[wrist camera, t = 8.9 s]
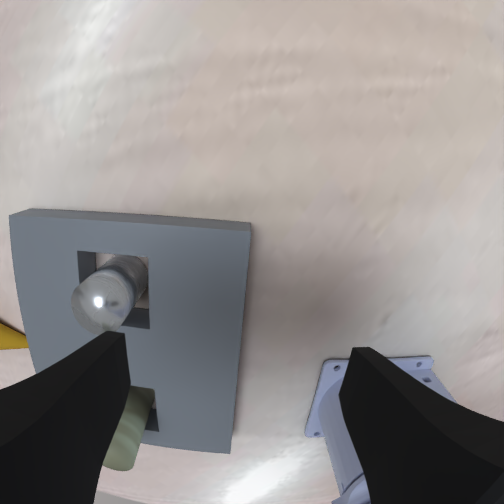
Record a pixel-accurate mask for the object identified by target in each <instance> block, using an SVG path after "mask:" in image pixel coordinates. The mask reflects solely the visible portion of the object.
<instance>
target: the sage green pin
mask: <svg viewBox="0 0 504 504" xmlns="http://www.w3.org/2000/svg"><path fill="white" fill-rule="evenodd" d="M154 398H155V392H154V389H151V388H144V387H138V386H132V385H130V389H129V393H128V397H127V401H126V405H125V409H124V411H123V414H122V416H121V419H120V421H119V424H118V426H117V429H116V431H115V434H114V436H113V439H112V441H111V444H110V446H109V449H108V451H107V454H106V456H105V459H104V462H103V466H105V467H107V468H110V469H113V470H117V471H128V470H130V469H132V468H133V466H134V462H135V459H136V456H137V452H138V449H139V446H140V442H141V439H142V436H143V433H144V429H145V426H146V423H147V420H148V417H149V413H150V410H151V407H152V404H153V401H154Z"/></svg>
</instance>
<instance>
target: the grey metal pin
mask: <svg viewBox="0 0 504 504" xmlns="http://www.w3.org/2000/svg"><path fill="white" fill-rule="evenodd" d="M147 285H148V272H147V269H146V267H145V265H144V264H143V262H142V261H141V260H140V259H138V258H137V257H136V256H130V255H119V254H117V255H115V256H113V257H112V258H111V259H109V260H108V261H107V262H106V263H105V264H103V265H102V266H101V267H100V268H99V269H97V270H96V271H95V272H94V273H93V274H91V275H90V276H89V277H88V278H87V279H86V280H84V281H83V282H82V283H81V284H80V285H79V286H77V287H76V288H75V290H74V291H73V293H72V297H71V308H72V312H73V314H74V316H75V318H76V320H77V321H78V323H79V324H80V325H81V326H82V327H83V328H84V329H86V330H87V331H89V332H91V333H93V334H96V335H100V334H102V333H104V332H106V331H114V332H116V331H117V330H118V329H119V327H120V326H121V324H122V323H123V321H124V320H125V318H126V317H127V315H128V314H129V313H130V311H131V310H132V308H133V307H134V305H135V304H136V302H137V301H138V299H139V298H140V296H141V295H142V293H143V292H144V291H145V289H146V287H147Z"/></svg>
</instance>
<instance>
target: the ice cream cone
mask: <svg viewBox="0 0 504 504" xmlns="http://www.w3.org/2000/svg"><path fill="white" fill-rule="evenodd" d="M21 348H29V346H28V342H27V338H26V336H25V335H23V334H21V333H19V332H17V331H15V330H13V329H11V328H9V327H7V326H5V325H3V324H1V323H0V350H4V349H21Z"/></svg>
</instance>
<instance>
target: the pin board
mask: <svg viewBox="0 0 504 504" xmlns="http://www.w3.org/2000/svg"><path fill="white" fill-rule="evenodd" d="M9 226H10V239H11V250H12V259H13V267H14V275H15V282H16V288H17V294H18V300H19V305H20V310H21V315H22V320H23V325H24V329H25V334H26V338H27V342H28V346H29V350H30V354H31V357H32V361H33V365H34V368H35V371H36V374H37V373H39V372H41V371H43V370H44V369H46V368H48V367H50V366H51V365H53V364H55V363H56V362H58V361H60V360H62V359H63V358H65V357H66V356H68V355H70V354H71V353H73V352H74V351H76V350H77V349H79V348H80V347H82V346H83V345H85V344H86V343H88V342H89V341H91V340H93V339H94V338H96V337H97V336H99V335H96V334H93V333H91V332H89V331H87V330H86V329H84V328H83V327H82V326H81V325H80V324H79V323H78V321H77V320H76V318H75V316H74V314H73V312H72V308H71V297H72V293H73V291H74V290H75V288H76V287H77V286H79V285H80V284H81V283H82V282H83V281H84V280H86V279H87V278H88V277H89V276H90V275H91V274H93V273H94V272H95V271H96V263H95V252H98V253H109V254H119V255H130V256H141V257H148V279H149V310H148V309H140V308H132V310H131V311H130V313H129V314H128V315H127V317H126V318H125V320H124V321H123V323H122V324H121V326H120V327H119V329H118V330H117V331H116V332H121V333H125V339H126V348H127V357H128V365H129V372H130V379H131V385H132V386H138V387H144V388H151V389H154V390H155V400H156V409H153V408H151V410H150V413H149V417H148V420H147V423H146V426H145V429H144V433H143V436H142V439H141V442H140V443H144V444H149V445H155V446H162V447H168V448H176V449H183V450H192V451H201V452H212V453H225V454H230V451H231V440H232V429H233V418H234V408H235V397H236V386H237V376H238V365H239V355H240V344H241V334H242V323H243V313H244V302H245V292H246V281H247V271H248V260H249V250H250V240H251V226H250V223H249V222H237V221H225V220H213V219H200V218H187V217H173V216H159V215H144V214H128V213H111V212H93V211H74V210H52V209H27V210H24V211H21V212H18V213H15V214H12V215H9Z"/></svg>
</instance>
